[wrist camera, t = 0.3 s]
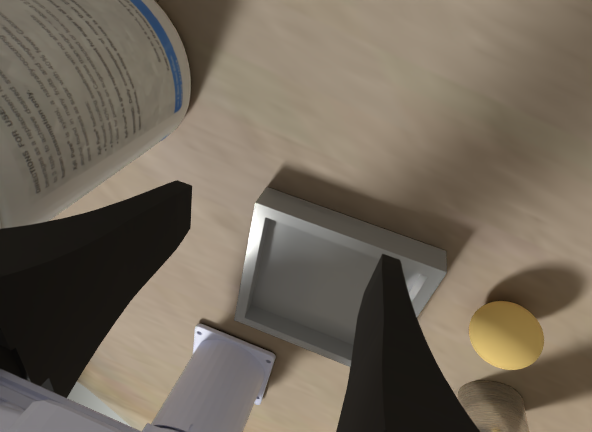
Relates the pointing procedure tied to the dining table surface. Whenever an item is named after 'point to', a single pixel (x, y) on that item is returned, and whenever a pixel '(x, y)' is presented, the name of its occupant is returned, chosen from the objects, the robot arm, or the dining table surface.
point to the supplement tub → (81, 97)
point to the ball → (506, 335)
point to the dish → (322, 272)
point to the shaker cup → (493, 406)
